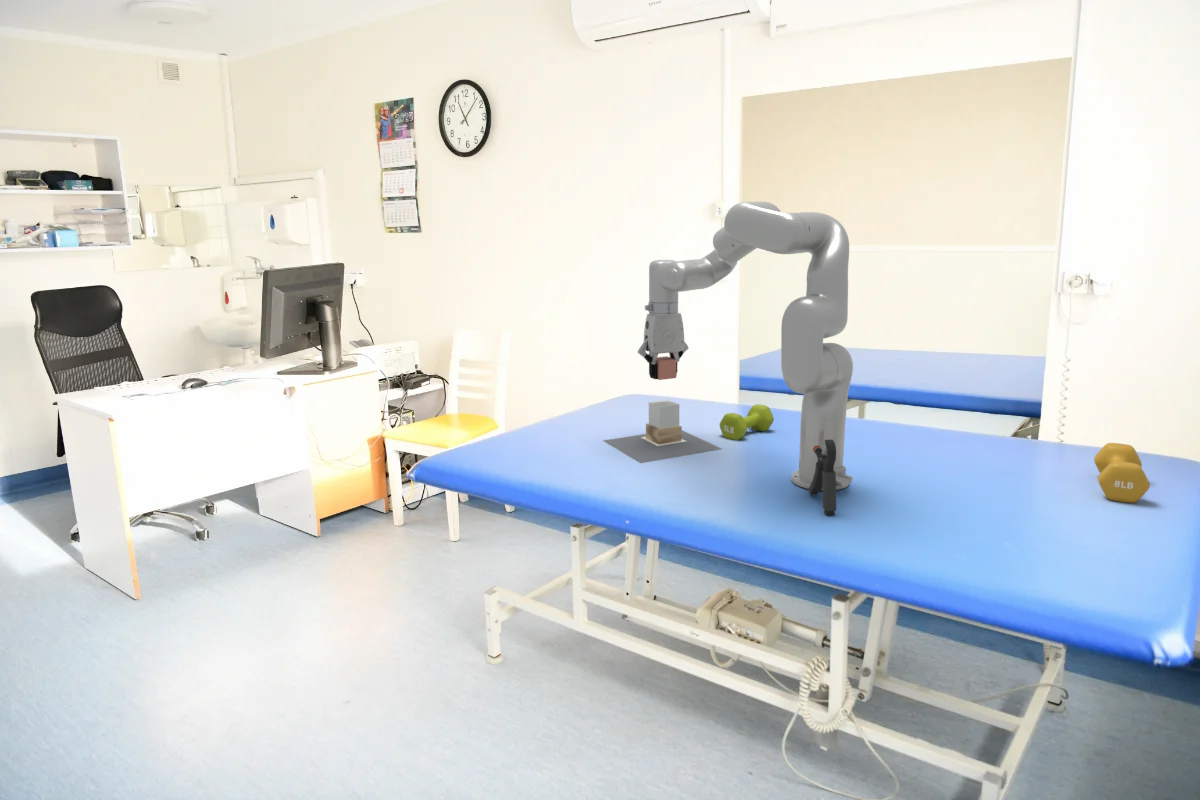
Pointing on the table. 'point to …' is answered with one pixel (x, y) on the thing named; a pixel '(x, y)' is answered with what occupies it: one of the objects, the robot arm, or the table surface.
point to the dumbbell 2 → (1121, 473)
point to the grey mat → (660, 447)
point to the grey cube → (663, 414)
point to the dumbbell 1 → (746, 422)
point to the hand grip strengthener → (825, 476)
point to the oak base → (663, 434)
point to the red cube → (666, 368)
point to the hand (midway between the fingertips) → (663, 376)
